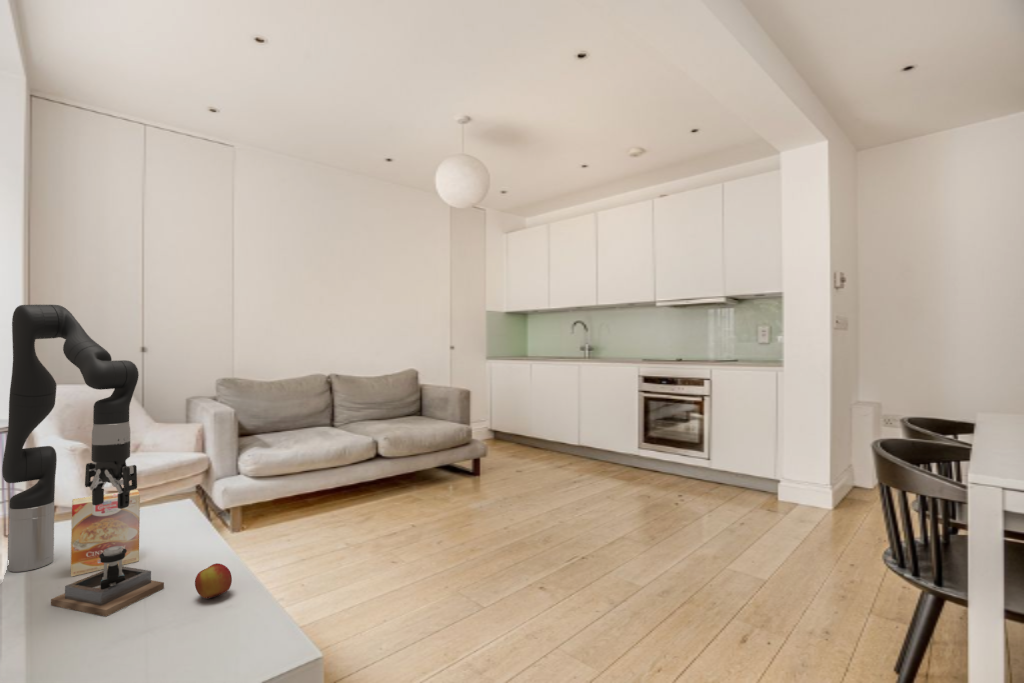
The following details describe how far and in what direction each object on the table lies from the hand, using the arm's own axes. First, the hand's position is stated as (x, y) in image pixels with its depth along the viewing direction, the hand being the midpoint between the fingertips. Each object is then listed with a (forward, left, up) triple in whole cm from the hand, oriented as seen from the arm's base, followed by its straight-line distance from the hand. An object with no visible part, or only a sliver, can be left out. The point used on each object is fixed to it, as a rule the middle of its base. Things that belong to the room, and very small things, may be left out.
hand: (110, 506), depth 124 cm
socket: (0, 0, -21) cm, 21 cm away
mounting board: (0, 0, -22) cm, 22 cm away
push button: (0, 0, -21) cm, 21 cm away
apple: (+25, +7, -23) cm, 34 cm away
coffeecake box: (-20, +13, -23) cm, 33 cm away
